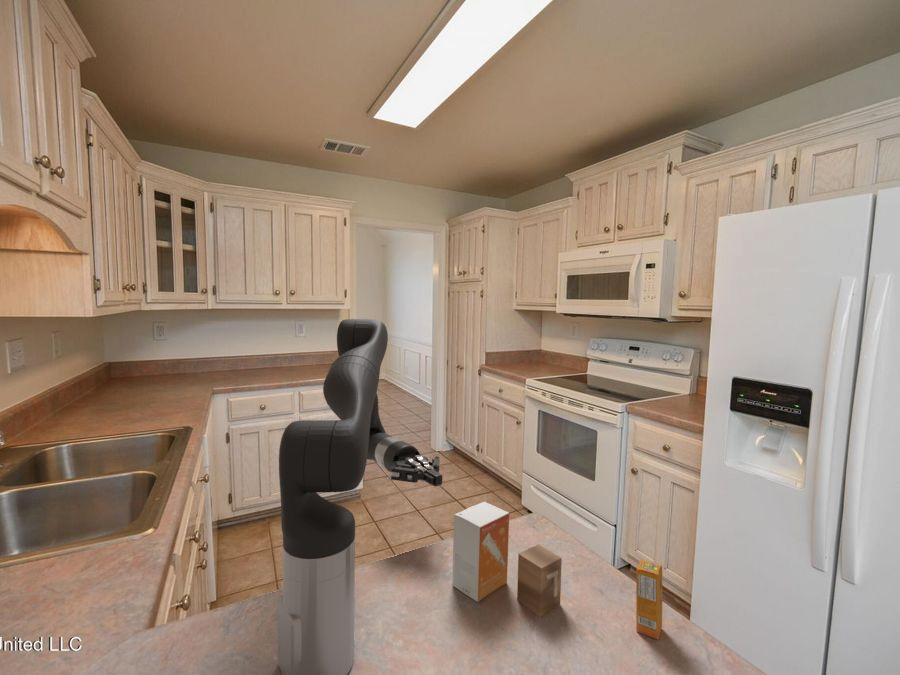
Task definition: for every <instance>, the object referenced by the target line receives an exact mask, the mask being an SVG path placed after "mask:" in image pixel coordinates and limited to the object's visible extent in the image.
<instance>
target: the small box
mask: <svg viewBox="0 0 900 675" xmlns="http://www.w3.org/2000/svg"><path fill="white" fill-rule="evenodd" d="M509 530H510V512H509V511H506V510H503V509H501V508H500V507H497V506H495V505H493V504H490V503H488V502H486V501H482V502H479V503H477V504H475V505H473V506H470V507H467V508H465V509H464V510H461V511H459V512H457V513H454V515H453V546H452V547H453V548H452V549H453V553H452V554H453V555H452V581H451V583H452V586H453V587H454V588H455V589H457V590H459V591H460V592H461V593H463V594H465V595H466V596H468V597H469V598H470V599H472V600H473V601H474V602H476V603H480V602H481V601H482V600H483V599H484V598H486V597H487V596H490V594H492V593H493V592H495V591H496V590H498V589H499V588H502V586H504V585H506V584H507V583H508V563H509V562H508V561H509V534H510V532H509Z"/></svg>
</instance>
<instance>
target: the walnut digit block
mask: <svg viewBox="0 0 900 675" xmlns="http://www.w3.org/2000/svg"><path fill="white" fill-rule="evenodd" d="M562 559H563V558H562V557H561V556H559V555H558V554H556V553H554V552H553V551H550V550H549V549H547V548H546V547H544V546H542V545H541V544H537V545H534V546H532V547H530V548H528V549H526V550H523V551H521V552H519V553H518V560H517V589H516V590H517V594H516V595H517V596H516V598H517V601H518V602H520V603H521V604H522V605H523V606H525V607H526V608H527V609H529V611H531V612H532V613H534V614H535V615H536V616H538V617H539V618H541V617H543V616H544V615H546V614H548V613H550V612H551V611H553V610H554V609H556V608H557V607H559V606H560V605H561V596H562V595H561V592H562V591H561V590H562V561H563V560H562Z"/></svg>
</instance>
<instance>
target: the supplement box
mask: <svg viewBox="0 0 900 675" xmlns="http://www.w3.org/2000/svg"><path fill="white" fill-rule="evenodd" d="M635 572H636V582H635V583H636V589H635V590H636V610H635V611H636V615H635V616H636V617H635V618H636V622H635V624H636V628H635V629H636V632H637V633H639V634H642V635H644V636H647V637H650V638H653V639H655V640H659V639H660V636H661V632H662V628H663V566H662V565H661V564H658V563H654V562H651V561H649V560H643V559H640V560H639V563H638V565H637V567H636V571H635Z"/></svg>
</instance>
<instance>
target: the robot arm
mask: <svg viewBox="0 0 900 675" xmlns="http://www.w3.org/2000/svg"><path fill="white" fill-rule="evenodd" d="M388 342H389V335H388V330H387V327H386V325H385V323H384V322H383V321H381V320H379V319H371V318H370V319H368V318H367V319H366V318H345V319H342V320H341V321H340V322H339V324H338V328H337V331H336V348H337V353H338V357H337V358H336V359H335V360H334V361H333V362H332V364H331V366H330V368H329V369H328V372H327V374H326V376H325V379H324V381H323V386H322V393H323V398H324V400H325V402H326V404H327V405H328V406H329V408H330V410H331V411H332V412H333V414H335V416H337V418H338V419H339V420H336V419H335V420H331V419H330V420H326V419H324V420H321V419H320V420H317V419H312V420H311V419H310V420H309V419H308V420H306V419H305V420H296V421H295V420H294V421H292V422H290V423H289V424H288V425H287V426H286V427H285V429H284V430H283V433H282V436H281V439H280V444H279V448H278V449H279V450H278V452H279V453H278V479H279V492H280V508H281V509H280V510H281V514H280V515H281V516H280V518H281V520H280V522H281V532H282V595H280V596H279V597H278V602H277V603H278V605H277V608H278V613H277V614H278V615H277V616H278V617H277V618H278V621H277V622H278V624H277V625H278V626H277V627H278V634H277V635H278V636H277V638H278V640H277V641H278V645H277V646H278V648H277V649H278V650H277V651H278V652H277V655H278V656H277V657H278V660H277V662H278V663H277V664H278V668H279V670H280V672H281V675H348V673H349V672H350V670H351V669H352V667H353V664H354V660H355V640H356V639H355V602H356V600H355V599H356V598H355V596H356V594H355V588H356V586H355V584H356V582H355V581H356V580H355V579H356V576H355V575H356V574H355V572H356V567H355V566H356V563H355V562H356V519H355V516H354V514H353V512H351V511H350V510H349V509H347V508H346V507H344V506H343V505H340V504H338V503H335V502H332V501H330V500H328V499H326V498H324V497H322V496H321V495H320V494H319V493H344V492H345V493H346V492H350V491H353V490H355V489H356V488H357V487H358V486H360V484H361V482H362V480H363V478H364V476H365V472H366V466H367V460H369V461H370V460H371V461H375V462H376V463H378V464H379V465H380V467H382V468H383V469H385V470H386V471H387V472H389V473H390V480H391V481H399V482H407V483H415V484H416V483H418V482H419V481H420V482H423V483H425V482H426V483H427V484H429V485H431V486H433V487H435V488H436V487H438V486H439V487H440V486H441V485H443V474H442V473H440V460H441V458H440V456H434V457H433V458H432V459H429V458H428V457H427V456H424V455H421V453H420V451H419V450H418V448H416V447H415V446H414V445H411V444H409V443H408V442H405V441H404V440H402V439H399V438H396V437H393V436H392V435H389V434H387V432H386V430H385V427H384V425H383V423H382V421H381V418H380V414H379V413H380V412H379V409H380V408H379V396H378V394H377V392H378V388H379V382H380V374H381V365H382V363H383V360H384V357H385V355H386V351H387V348H388Z"/></svg>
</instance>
